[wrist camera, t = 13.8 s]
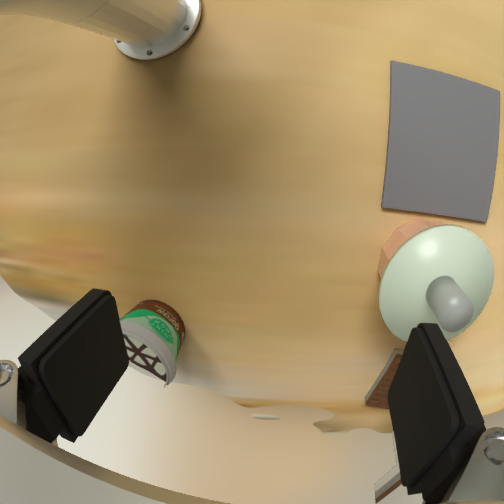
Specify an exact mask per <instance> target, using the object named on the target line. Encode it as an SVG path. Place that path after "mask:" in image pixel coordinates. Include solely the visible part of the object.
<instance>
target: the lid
mask: <svg viewBox="0 0 504 504" xmlns="http://www.w3.org/2000/svg"><path fill="white" fill-rule="evenodd" d="M493 280H494V266H493V261H492V257H491V254H490V252H489V250H488V248H487V246H486V245H485V243H484V242H483V241H482V240H481V239H480V238H479V237H478V236H477V235H475V234H474V233H473V232H471V231H470V230H468V229H466V228H463V227H461V226H457V225H447V224H446V225H437V226H433V227H430V228H427V229H424V230H422V231H420V232H418V233H416V234H415V235H413V236H412V237H410V238H409V239H408V240H407V241H405V242H404V243H403V244H402V245H401V246H400V247H399V248H398V249H397V250H396V252H395V253H394V254H393V256H392V257H391V258H390V260H389V262H388V263H387V265H386V267H385V269H384V272H383V274H382V277H381V280H380V284H379V290H378V302H379V308H380V311H381V315H382V318H383V320H384V322H385V324H386V326H387V327H388V329H389V330H390V331H391V332H392V333H393V334H394V335H395V336H396V337H398V338H399V339H401V340H403V341H405V342H407V341H408V338H409V335H410V332H411V330H412V328H414V327H417V325H418V324H419V323H436V324H438V325H439V327H440V329H441V331H442V333H443V335H444V337H445V339H446V340H449V339H451V338H453V337H455V336H456V335H458V334H460V333H461V332H462V331H464V330H465V329H466V328H467V327H469V326H470V325H471V324H472V323H473V322H474V321H475V320H476V318H477V317H478V316H479V315H480V313H481V312H482V310H483V309H484V307H485V305H486V303H487V301H488V299H489V296H490V293H491V290H492V286H493Z"/></svg>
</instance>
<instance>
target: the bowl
mask: <svg viewBox="0 0 504 504" xmlns="http://www.w3.org/2000/svg"><path fill="white" fill-rule="evenodd" d="M437 225H444V224H443V223H441V222H440V221H433V220H425V219H417V220H415V221H413V222H411V223H408V224H406V225H404V226H402V227H400V228H397V230H396V231H395V232H394V234H393V235H392V236H391V237H390V239H389V240H388V241H387V243H386V244H385V245H384V246H383V248H382V251H381V257H380V262H379V267H378V273H379V276H380V278H381V277H382V274H383V272H384V269H385V267H386V265H387V263H388V262H389V260H390V258H391V257H392V256H393V254H394V253H395V252H396V250H397V249H398V248H399V247H400V246H401V245H402V244H403V243H404V242H405V241H407V240H408V239H409V238H410V237H412V236H413V235H415V234H416V233H418V232H420V231H422V230H424V229H427V228H430V227H433V226H437Z"/></svg>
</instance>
